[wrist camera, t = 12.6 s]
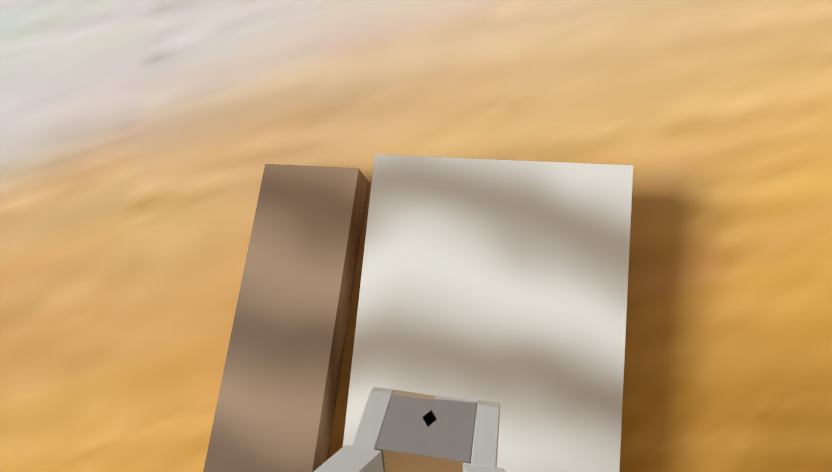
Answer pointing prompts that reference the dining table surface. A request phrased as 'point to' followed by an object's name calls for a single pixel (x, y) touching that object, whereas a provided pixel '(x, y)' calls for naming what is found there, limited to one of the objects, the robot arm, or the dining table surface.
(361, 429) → the robot arm
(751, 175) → the dining table surface
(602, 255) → the ash plank
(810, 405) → the dining table surface
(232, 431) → the walnut boards
